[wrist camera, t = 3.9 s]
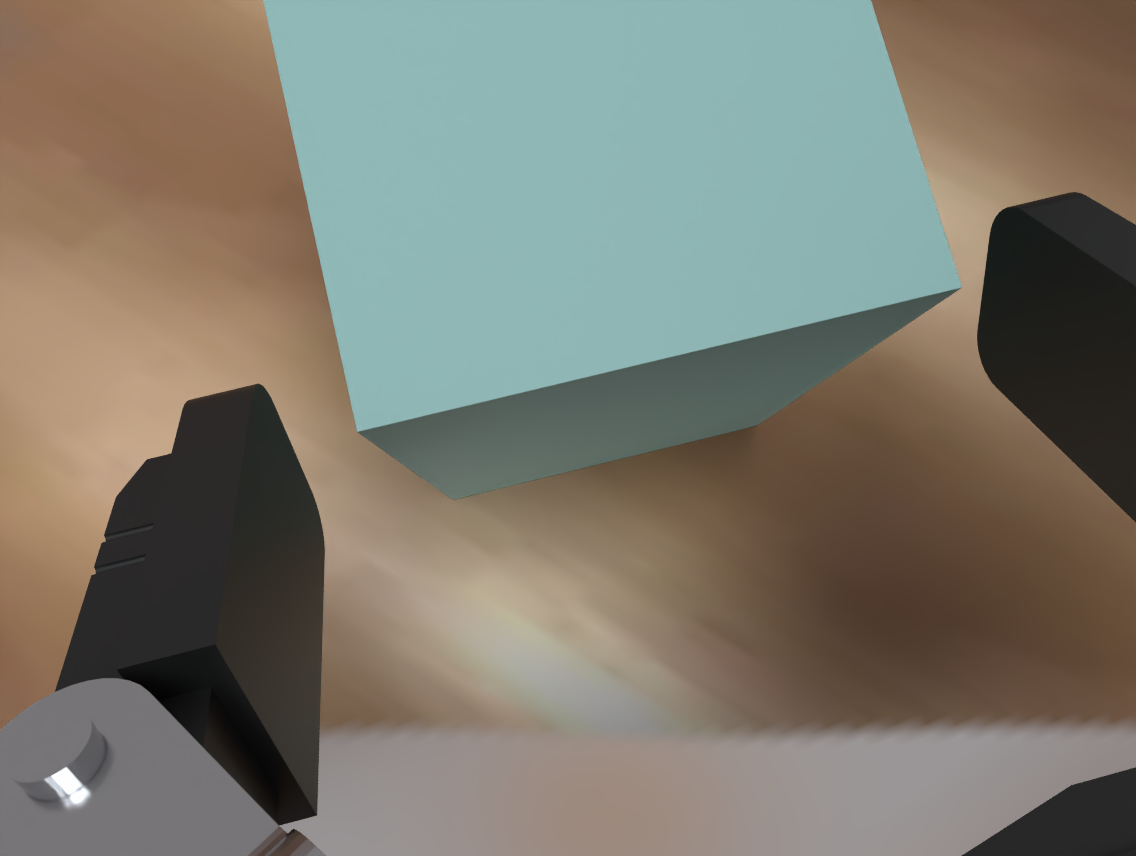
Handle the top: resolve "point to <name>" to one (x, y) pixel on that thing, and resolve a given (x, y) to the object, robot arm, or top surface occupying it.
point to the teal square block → (600, 217)
